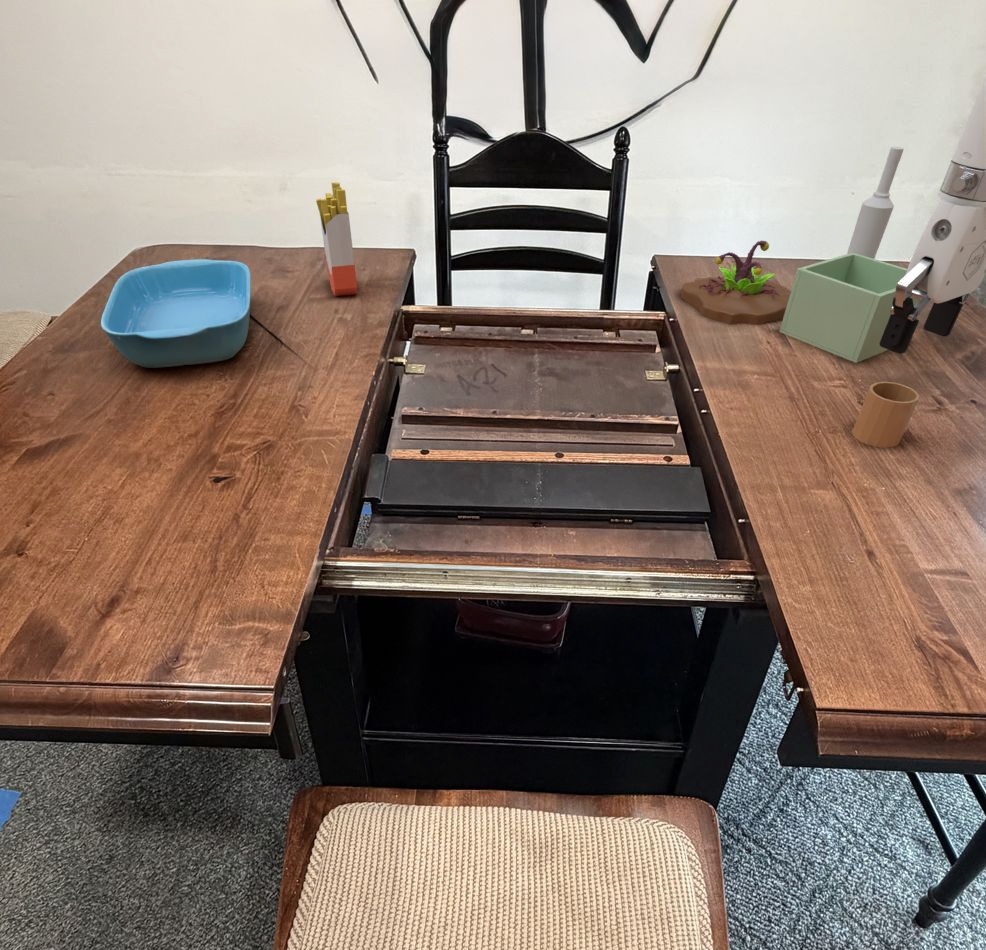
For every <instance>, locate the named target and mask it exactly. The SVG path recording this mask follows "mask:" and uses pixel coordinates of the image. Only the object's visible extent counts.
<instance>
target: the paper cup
mask: <svg viewBox="0 0 986 950" xmlns="http://www.w3.org/2000/svg"><path fill="white" fill-rule="evenodd" d="M919 400H920V394H919V393H918V391H917V390H916V389H913V388H912V387H910V386H907V385H905V384H902V383H898V382H893V381H877V382H874V383H872V384H870V386H869V388H868V390H867V393H866V396H865V398H864V401H863V404H861V405H862V406H861V408H860V410H859V413H858V416H857V418H856V421H855V423H854V426H853V428H852V431H851V433H852V436H853V437H854V438H855V439H856V440H857V441H859V442H861V443H863V444H865V445H867V446H872V447H876V448H883V449H887V448H894V447H896V446H898V445H900V442H901V440H902V437H903V435H904V433H905V431H906V428H907V426H908V424H909V422H910V420H911V417H912V415H913V413H914V411H915V408H916V406H917V404H918V402H919Z"/></svg>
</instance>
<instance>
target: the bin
mask: <svg viewBox="0 0 986 950" xmlns="http://www.w3.org/2000/svg"><path fill="white" fill-rule="evenodd" d="M907 269H908V268H905V267H902V266H899V265H895V264H892V263H889V262H886V261H882V260H878V259H877V258H874V259H873V258H869V257H866V256H863V255H859V254H856V253H849V254H847V253H846V254H843V255H840V256H836V257H832V258H829V259H826V260H822V261H819V262H815V263H812V264H809V265H805V266H802V267H798V268H797V269H796V273H795V276H794V278H793V283H792V287H791V290H790V291H791V293H790V297H789V300H788V304H787V307H786V311H785V314H784V318H783V320H781V321H782V322H781V325H780V329H779V333H780V334H781V333H782V334H783V335H786V336H789V337H791V338H793V339H796V340H798V341H801V342H803V343H805V344H808V345H811V346H813V347H815V348H817V349H821V350H823V351H825V352H829V353H831V354H833V355H836V356H838V357H841V358H842V359H845V360H848V361H850V362H853V363H855V364H857V363H859V362H862V361H865V360H867V359H869V358H873V357H876V356H877V355H879V354H882V353H884V352H886V351H889V350H888V349H886V348H883V347H881V346H880V341H881V338H882V336H883V333H884V331H885V328H886V326H887V323H888V321H889V318H890V315H891V314H890V311H891V308H892V307H893V304H892V302H893V298H894V297H895V292H896V285H897V283H898V282H899V281H900V280H901V279H902V278H903V277H904V276H905V274H906V272H907ZM920 290H922V291H925V292H927V291H926V290H923V289H920ZM910 298H912V297H910ZM912 299H913V304H914V307H915V305H916V304H917V303H918V301H919V300H918V299H915V298H912ZM920 315H921V313H920V314H919V315H918V317H917V318H916V320H919V318H920Z"/></svg>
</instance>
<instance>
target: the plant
mask: <svg viewBox="0 0 986 950" xmlns="http://www.w3.org/2000/svg"><path fill="white" fill-rule="evenodd" d="M758 246H759V248H760V250H761V251H763V252H766V251H768V250H769V248H770V244H769V242H768V241H767V240H758V241H757V242H756V243H754V245H752V247H751V248H750V250H749V252H748V253H747V256H746V258H745V261H744V262H743V261H742V259H741V258H740V256H738V254H736V253H733V252H725V253H723V254H721V255H719V256H717V257H716V259H715V263H716V264H717V266H718V265H721V264H723V262H724V260H725V258H726V257H731V258H733V260H734V263H735V265H734V264H732V265H731V267H730V270H731V271H730V270H729V269H728V268H726V267H724V266H719V270H720V271H721V273H722V274H723V276H720V275H717V277H714V276H708V277H697V278H695V279H694V281H691V282H684V283H683V284H682V286H681V291H680V299H681V300H682V301H684V302H686V303H687V304H689V305H691V306H692V307H694V308H695V309H696V310H697V311H698V312H699V313H700V315H701V316H702V317H704V318H708V319H710V320H712V321H717V322H721V323H725V324H728V325H735V324H749V325H754V326H755V325H764V324H768V323H774V322H778V321H783V318H784V314H785V311H786V307H787V304H788V300H789V297H790V293H791V290H790V289H788V288H787V287H785V286H783V285H779V284H777V283H774V282H773V281H770V279H771V278H772V277H774V276H775V275H776V274H775V273H774V272H772V273H765V274H764V275H761V274H762V272H763V268H762V267H763V266H762V265H761V263H760V262H757V261H753V257H754V255H755V252H756V250H757V248H758ZM752 261H753V262H752ZM759 275H761V276H759Z"/></svg>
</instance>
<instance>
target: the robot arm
mask: <svg viewBox="0 0 986 950" xmlns="http://www.w3.org/2000/svg"><path fill="white" fill-rule="evenodd" d="M942 179H943V180H942V182H941V185H940V187H939V190H938V192H937V196H938V197H939V200H938V202H937V204H936V206H935V207H934V210H933V212H932V214H931V216H930V218H929V220H928V221H927V224H926V225H925V227H924V230H923V232H922V234H921V236H920V239H919V241H918V243H917V245H916V248H915V249H914V252H913V254H912V257H911V259H910V262H909V264H908V266H907V268H906V269H907V272H906V274H905V276H904V277H903V278H902V279H901V280H900V281H899V282H898V283H897V285H896V292H895V297H894V298H893V302H892V304H893V307H892V308H891V311H890V314H891V315H890V318H889V321H888V323H887V326H886V328H885V331H884V333H883V336H882V338H881V341H880V346H881V347H883V348H886V349H888V350H887V351H891V352H894V353H895V354H898V355H902V354H905V353H906V352H907V351H908V348H909V346H910V343H911V341H912V339H913V336H914V334H915V332H916V330H917V328H918V325H919V322H920V320H919V319H918V320H916V318H917V317H918V315H919V314H920V315H921V313H922V312H923V310H924V309H925V308H926V306H927V305H928V304H929V303H930V302H931V300H932V302H933V304H932V306H931V309H930V310H929V313H928V315H927V318H926V320H925V322H924V325H923V330H924V331H926V332H929V333H933V334H935V335H938V336H941V337H948V336H950V335H951V332H952V330H953V328H954V326H955V324H956V322H957V320H958V318H959V316H960V313H961V311H962V308H963V306H964V303H965V302H966V301H967V300H968V298H969V296H970V293H972V292H974V291H976V290H978V288H979V287H980V286H981V285H982V283H983V280H984V278H985V276H986V73H985V74H984V76H983V78H982V80H981V84H980V86H979V89H978V92H977V94H976V96H975V99H974V101H973V104H972V107H971V109H970V111H969V114H968V116H967V119H966V122H965V124H964V127H963V129H962V132H961V134H960V137H959V139H958V142H957V145H956V147H955V149H954V152H953V155H952V157H951V160H950V162H949V164H948V167H947V169H946V172H945V175H944V177H943V178H942ZM920 289H923V290H926V291H927V292H925V291H922V290H920ZM910 297H912V298H915V299H918V300H919V301H918V303H917V304H916V305H915V307H914V304H913V299H912V298H910Z"/></svg>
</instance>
